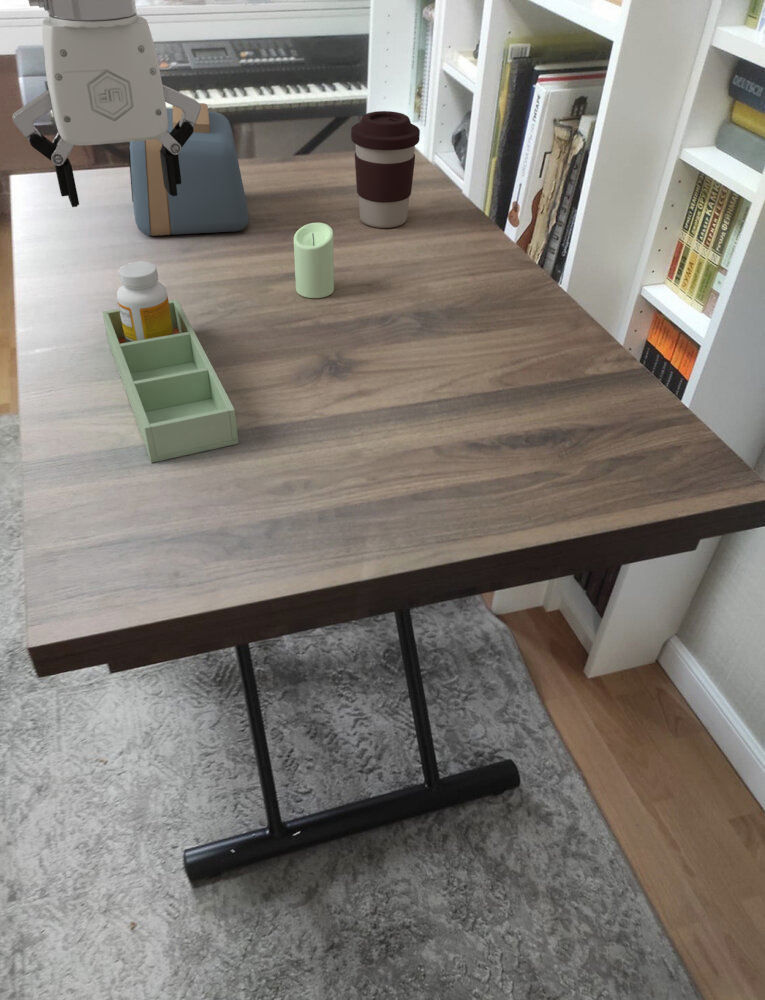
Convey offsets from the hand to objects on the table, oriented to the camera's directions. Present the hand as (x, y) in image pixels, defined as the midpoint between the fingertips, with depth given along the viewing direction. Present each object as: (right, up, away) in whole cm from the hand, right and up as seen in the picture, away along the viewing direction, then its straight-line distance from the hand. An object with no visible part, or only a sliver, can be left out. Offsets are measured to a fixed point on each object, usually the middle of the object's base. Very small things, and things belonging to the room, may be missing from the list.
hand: (123, 197), depth 84 cm
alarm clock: (-3, +13, +44) cm, 46 cm away
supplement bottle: (0, -13, +12) cm, 18 cm away
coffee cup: (+26, +12, +45) cm, 53 cm away
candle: (+17, -3, +26) cm, 31 cm away
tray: (+3, -19, +6) cm, 20 cm away
